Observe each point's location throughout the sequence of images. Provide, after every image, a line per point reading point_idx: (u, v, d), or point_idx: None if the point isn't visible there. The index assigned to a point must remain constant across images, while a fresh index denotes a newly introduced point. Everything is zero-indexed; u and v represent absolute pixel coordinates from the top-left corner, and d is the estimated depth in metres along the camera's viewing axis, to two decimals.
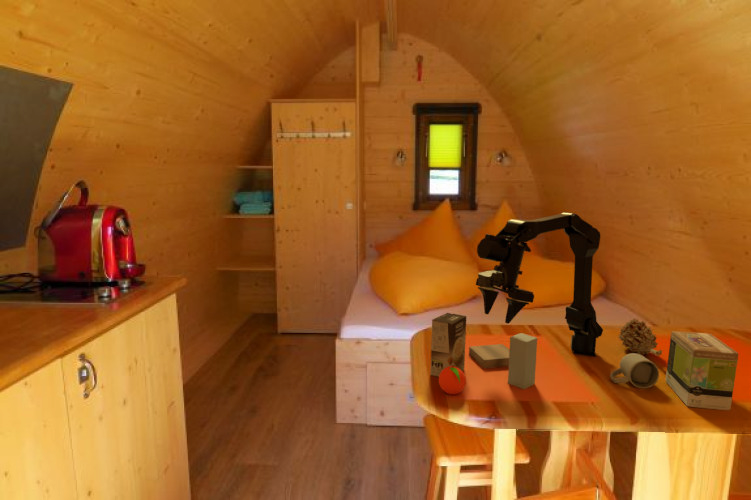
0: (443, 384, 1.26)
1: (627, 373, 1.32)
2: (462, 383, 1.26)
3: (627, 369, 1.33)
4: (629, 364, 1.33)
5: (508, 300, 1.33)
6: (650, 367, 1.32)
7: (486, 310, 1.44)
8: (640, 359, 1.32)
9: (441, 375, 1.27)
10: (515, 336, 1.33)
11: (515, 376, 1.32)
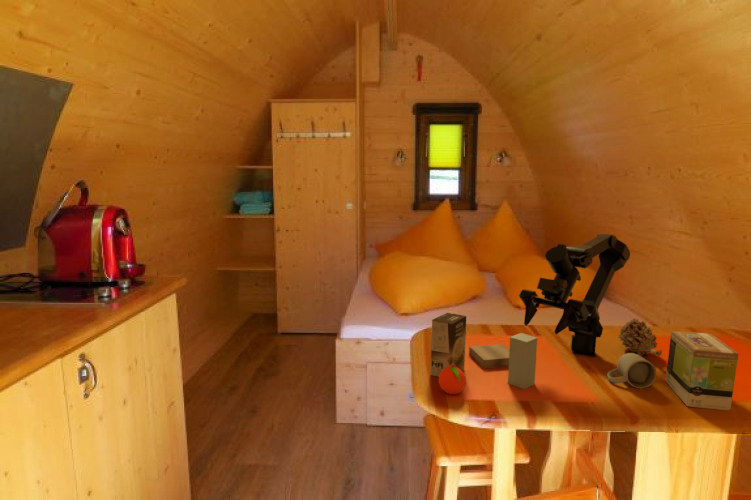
0: (443, 384, 1.26)
1: (624, 373, 1.33)
2: (462, 383, 1.26)
3: (624, 369, 1.33)
4: (626, 364, 1.33)
5: (566, 309, 1.33)
6: (647, 367, 1.32)
7: (526, 321, 1.41)
8: (637, 359, 1.32)
9: (441, 375, 1.27)
10: (515, 336, 1.33)
11: (515, 376, 1.32)
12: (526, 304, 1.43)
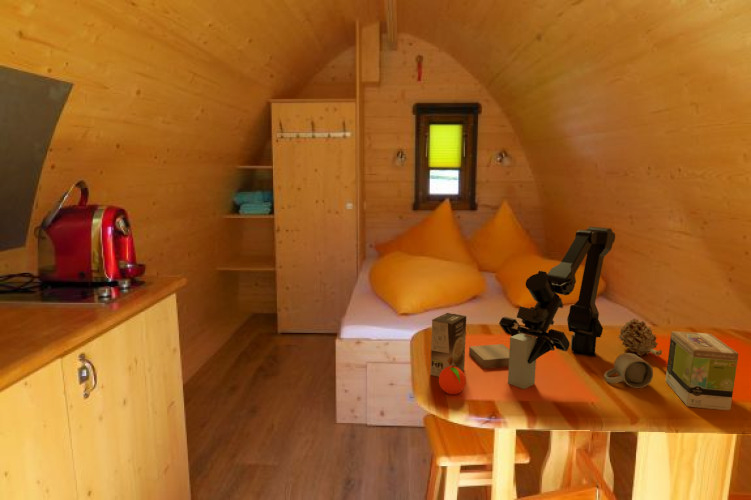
0: (443, 384, 1.26)
1: (621, 373, 1.33)
2: (462, 383, 1.26)
3: (621, 369, 1.33)
4: (623, 364, 1.33)
5: (540, 338, 1.30)
6: (644, 367, 1.32)
7: None
8: (634, 359, 1.32)
9: (441, 375, 1.27)
10: (515, 336, 1.33)
11: (515, 376, 1.32)
12: (512, 334, 1.36)
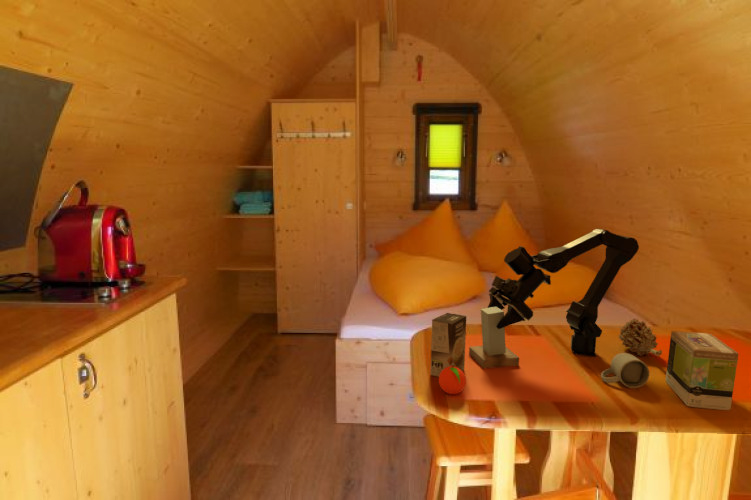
0: (443, 384, 1.26)
1: (617, 373, 1.33)
2: (462, 383, 1.26)
3: (617, 369, 1.33)
4: (619, 364, 1.33)
5: (509, 307, 1.42)
6: (640, 367, 1.33)
7: None
8: (630, 359, 1.32)
9: (441, 375, 1.27)
10: (486, 308, 1.49)
11: (485, 343, 1.49)
12: (490, 300, 1.54)
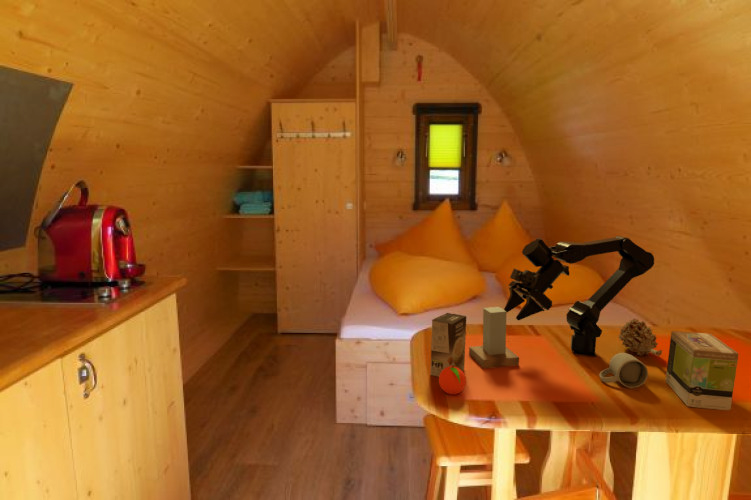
0: (443, 384, 1.26)
1: (616, 373, 1.33)
2: (462, 383, 1.26)
3: (616, 369, 1.33)
4: (618, 364, 1.33)
5: (527, 298, 1.43)
6: (639, 367, 1.33)
7: (505, 308, 1.54)
8: (629, 359, 1.32)
9: (441, 375, 1.27)
10: (488, 308, 1.50)
11: (486, 343, 1.50)
12: (510, 293, 1.55)
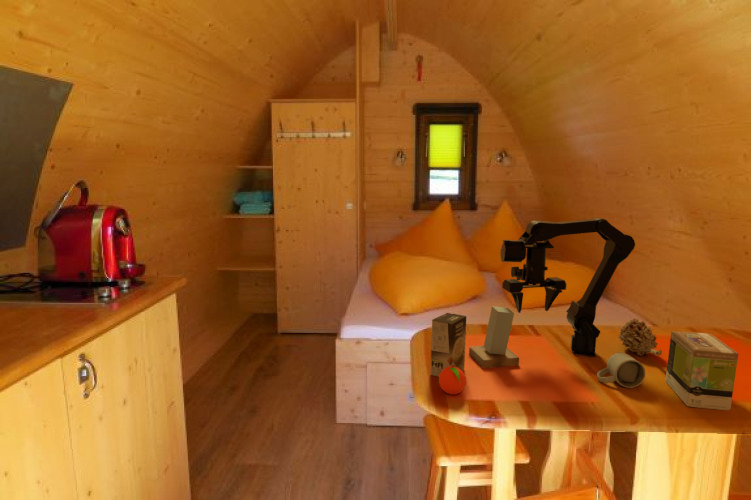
0: (443, 384, 1.26)
1: (613, 372, 1.33)
2: (462, 383, 1.26)
3: (613, 368, 1.33)
4: (615, 364, 1.33)
5: None
6: (636, 366, 1.33)
7: (545, 307, 1.56)
8: (626, 358, 1.32)
9: (441, 375, 1.27)
10: (497, 307, 1.49)
11: (488, 340, 1.49)
12: None
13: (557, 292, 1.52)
